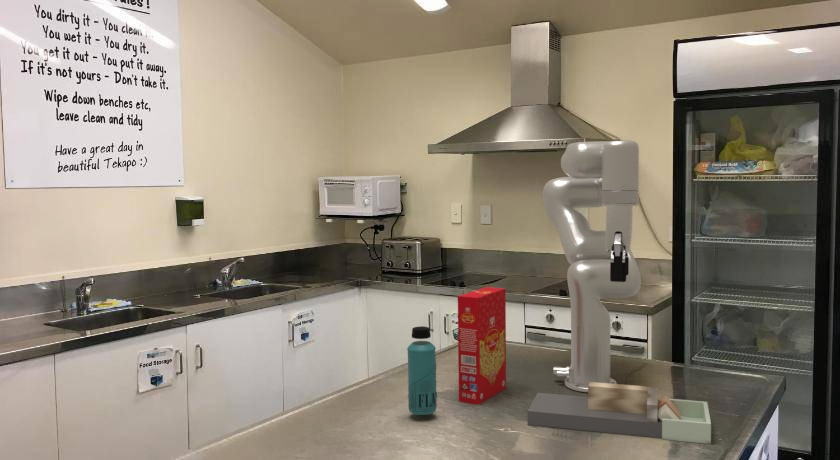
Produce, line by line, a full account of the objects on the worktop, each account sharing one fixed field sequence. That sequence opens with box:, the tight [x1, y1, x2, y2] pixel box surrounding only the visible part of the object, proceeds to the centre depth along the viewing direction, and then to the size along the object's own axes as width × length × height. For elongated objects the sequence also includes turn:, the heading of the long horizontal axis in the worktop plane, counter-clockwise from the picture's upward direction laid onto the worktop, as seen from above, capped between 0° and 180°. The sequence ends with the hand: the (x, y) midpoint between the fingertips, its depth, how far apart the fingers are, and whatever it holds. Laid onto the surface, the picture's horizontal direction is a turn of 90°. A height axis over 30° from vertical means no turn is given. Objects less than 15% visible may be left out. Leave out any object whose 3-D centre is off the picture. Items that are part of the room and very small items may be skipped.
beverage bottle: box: [406, 325, 438, 416], centre depth 155 cm, size 6×7×20 cm
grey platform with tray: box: [526, 392, 712, 445], centre depth 150 cm, size 36×14×4 cm, turn 71°
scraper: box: [587, 382, 659, 423], centre depth 149 cm, size 14×12×5 cm
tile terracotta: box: [658, 395, 681, 419], centre depth 149 cm, size 4×4×2 cm
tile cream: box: [658, 404, 680, 421], centre depth 144 cm, size 4×4×2 cm
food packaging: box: [457, 286, 507, 406], centre depth 170 cm, size 15×5×25 cm, turn 148°
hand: (619, 278), depth 153 cm, fingers open, 9 cm apart
